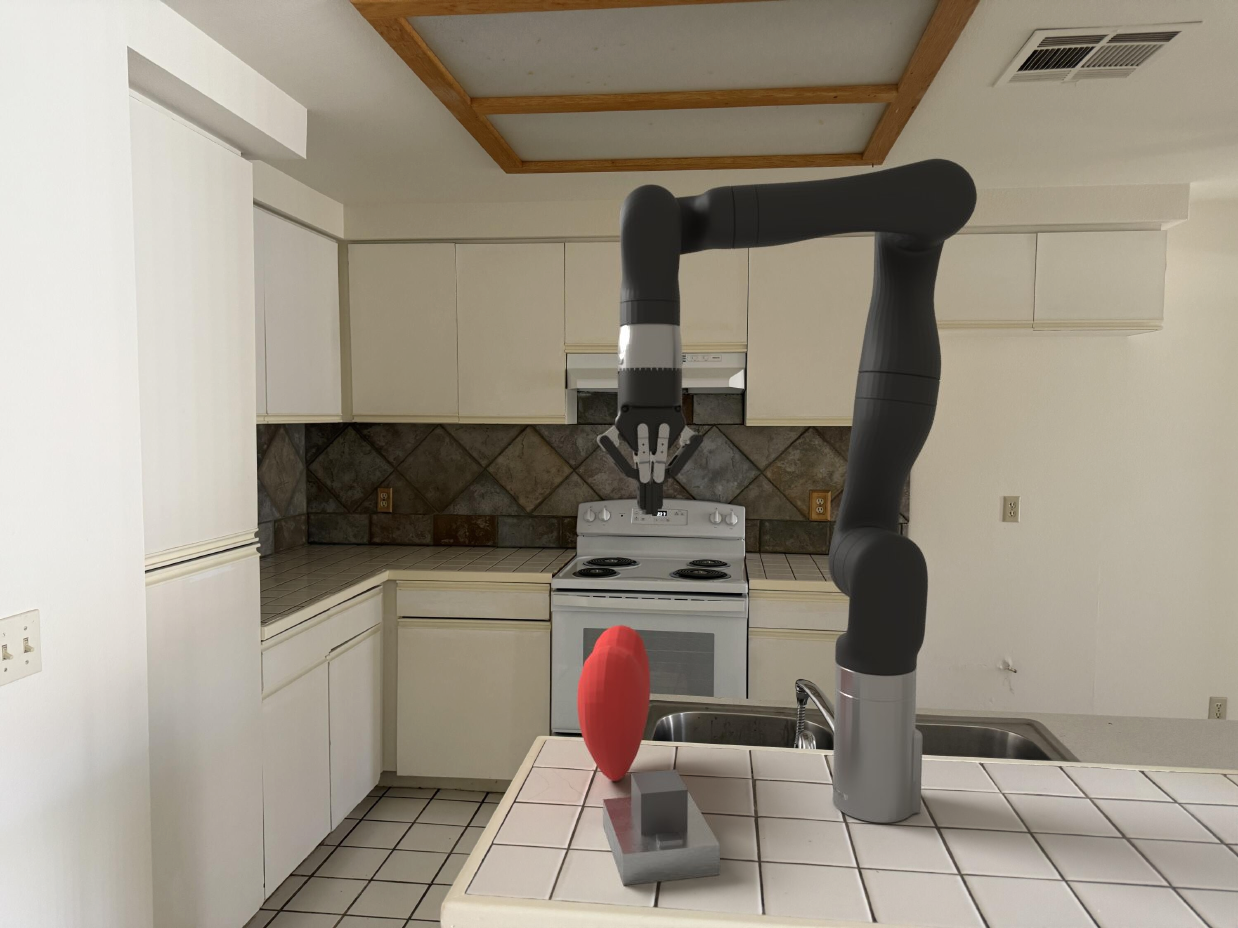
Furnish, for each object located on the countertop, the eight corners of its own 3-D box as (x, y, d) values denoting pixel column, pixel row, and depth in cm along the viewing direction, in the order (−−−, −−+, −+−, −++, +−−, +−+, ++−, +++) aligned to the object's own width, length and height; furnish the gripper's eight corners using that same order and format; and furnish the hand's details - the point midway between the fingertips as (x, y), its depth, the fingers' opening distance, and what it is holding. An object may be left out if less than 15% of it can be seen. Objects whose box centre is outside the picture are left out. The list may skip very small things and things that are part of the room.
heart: (640, 820, 98) (640, 660, 96) (566, 815, 99) (565, 658, 98) (655, 749, 118) (655, 617, 116) (594, 746, 119) (594, 615, 117)
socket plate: (688, 818, 98) (688, 785, 98) (719, 874, 86) (719, 837, 86) (603, 826, 96) (603, 793, 96) (623, 884, 85) (623, 847, 84)
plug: (675, 833, 94) (675, 769, 94) (687, 857, 89) (687, 789, 89) (631, 838, 93) (631, 773, 93) (641, 862, 88) (641, 793, 88)
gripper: (695, 368, 104) (695, 508, 105) (588, 367, 101) (589, 511, 102) (714, 365, 96) (713, 516, 97) (599, 364, 94) (599, 519, 95)
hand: (649, 513), depth 100 cm, fingers closed
